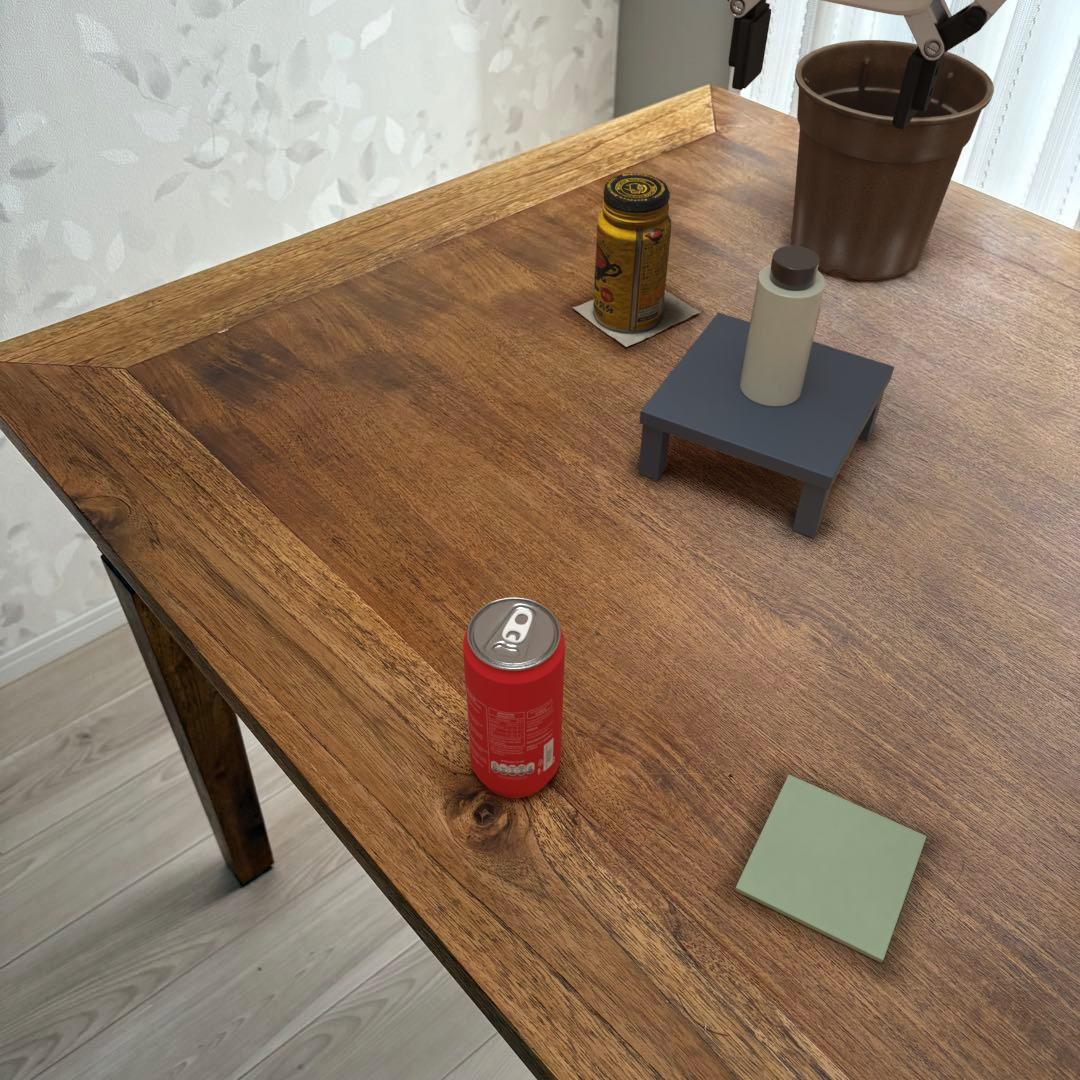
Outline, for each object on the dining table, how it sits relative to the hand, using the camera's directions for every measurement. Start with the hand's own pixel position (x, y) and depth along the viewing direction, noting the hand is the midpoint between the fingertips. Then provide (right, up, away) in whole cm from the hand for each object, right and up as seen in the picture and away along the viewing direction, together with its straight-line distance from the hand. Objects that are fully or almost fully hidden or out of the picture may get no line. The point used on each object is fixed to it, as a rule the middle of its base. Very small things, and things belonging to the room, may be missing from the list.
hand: (823, 99), depth 65 cm
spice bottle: (0, -15, +15) cm, 21 cm away
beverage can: (-18, -39, 0) cm, 43 cm away
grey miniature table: (0, -19, +19) cm, 27 cm away
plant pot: (+13, +2, +40) cm, 42 cm away
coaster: (-1, -43, -5) cm, 44 cm away
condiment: (-8, -6, +32) cm, 34 cm away
